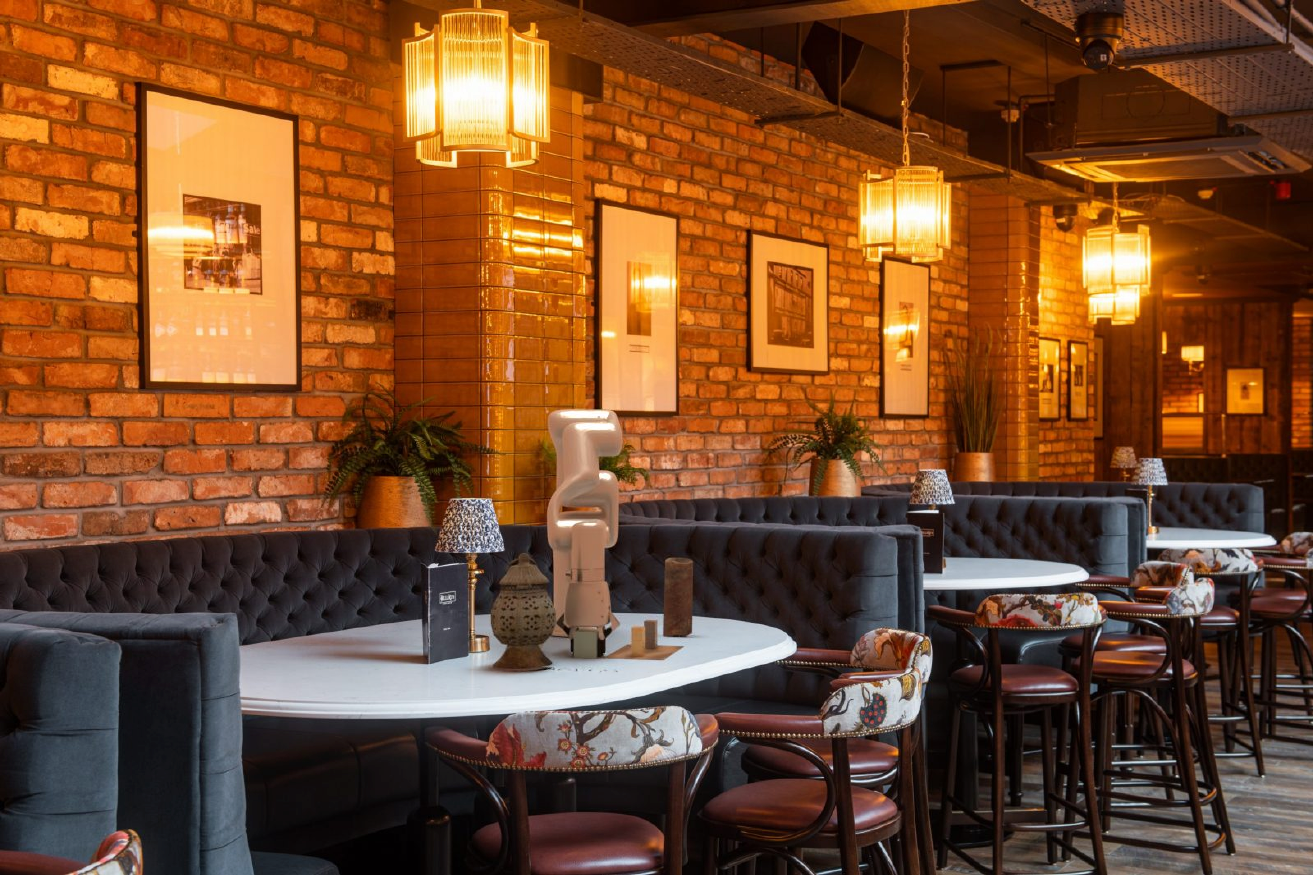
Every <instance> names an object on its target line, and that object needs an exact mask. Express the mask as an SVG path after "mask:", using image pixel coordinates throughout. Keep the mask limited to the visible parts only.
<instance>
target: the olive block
mask: <svg viewBox="0 0 1313 875" xmlns="http://www.w3.org/2000/svg"><path fill="white" fill-rule="evenodd" d="M598 639H599V635H598V632H597V628H595V629H579V630H576V631H574V656H573V658H575V659H576V658H578V659H579V658H580V659H597V658H599V657H597V640H598Z"/></svg>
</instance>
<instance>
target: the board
mask: <svg viewBox="0 0 1313 875" xmlns="http://www.w3.org/2000/svg"><path fill="white" fill-rule="evenodd" d="M684 647H685V646H683V645H663V644H662V645H661V644H659V645H658V644H657V648H656V649H645V656H643V657H635V656H631V643H629V644H625V645H624V646H621V647H620V648H619V649H616V650H615V651H613V652H611V653H609V654H607V655H605V656H604V657H603V656H602V659H612V660H613V659H615V660H616V659H619V660H639V661H640V660H642V661H643V660H644V661H665V660H666V659H668V658H669V657H671V656H672V655H673V654H675V653H676V652H678V651H680V650H681V649H682V648H684Z"/></svg>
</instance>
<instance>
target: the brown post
mask: <svg viewBox="0 0 1313 875" xmlns="http://www.w3.org/2000/svg"><path fill="white" fill-rule="evenodd" d="M643 627H645V649H656V648H657V645H658V619H646V620H643Z"/></svg>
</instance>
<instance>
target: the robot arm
mask: <svg viewBox="0 0 1313 875" xmlns="http://www.w3.org/2000/svg"><path fill="white" fill-rule="evenodd" d="M547 418H548V419H547V428H548V433H549V436H550V440H552V444H553V446H554V449H555V452H556V453H555V454H556V490H555V491H554V492H553V494H552V496H551V498H550V500H549V502H548V506H547V510H546V511H547V512H546V522H547V523H546V524H547V528H546V529H547V541H548V545H549V546H550V548H551V549H552V554H553V555H552V557H553V605H554V608H555V610H556V625H555V628H554V630H553V633H552V635H551V636H554V637H566V638H569V639H570V653H572V654H571V655H572V657H574V631H576V630H579V629H597V632H598V635H599V639H598V640H597V657H598V658H603V656H604V655H605V653H606V651H607V650H606V649H607V648H606V646H607V645H606V644H607V643H606V642H607V641H606V639H607V638H608V637H609V635H611V633H613V632H614V631H615V630H616V629H617V628H619V627H620V625H621V621H619V620H618V619H617V617H616V616H615V615H614V614H613V612H612V607H611V598H610V597H611V596H610V590H609V589H610V588H609V584H608V582H607V581H605V576H606V575H605V573H606V572H605V570H606V568H605V549H608V548H612V547H614V546H615V545H616V543H617V542H618V537H619V535H618V534H619V504H620V502H619V500H620V499H619V498H620V496H619V495H620V491H619V490H620V489H619V482H618V478H617V476H616V474H615V473H614V472H612V471H611V470H610V471H609V470H603V469H601V470H600V461H599V460H600V459H599V457H618V456H619V455H620V454H621V453H622V450H623V445H624V444H623V443H624V442H623V440H624V439H623V431H622V426H621V424H620V421H619V418H618V415H617V413H616V412H614V411H613V410H611V409H584V408H583V409H581V408H580V409H579V408H578V409H577V408H573V409H572V408H568V409H558V410H554V411H552V412H550V414H549V415H548V417H547ZM561 507H566V508H598V509H599V511H593V510H592V511H588V510H587V511H585V510H570V511H568V510H567V511H562V512H560V509H561ZM609 624H610V625H609ZM606 625H609V626H608V627H607V628H606Z"/></svg>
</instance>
